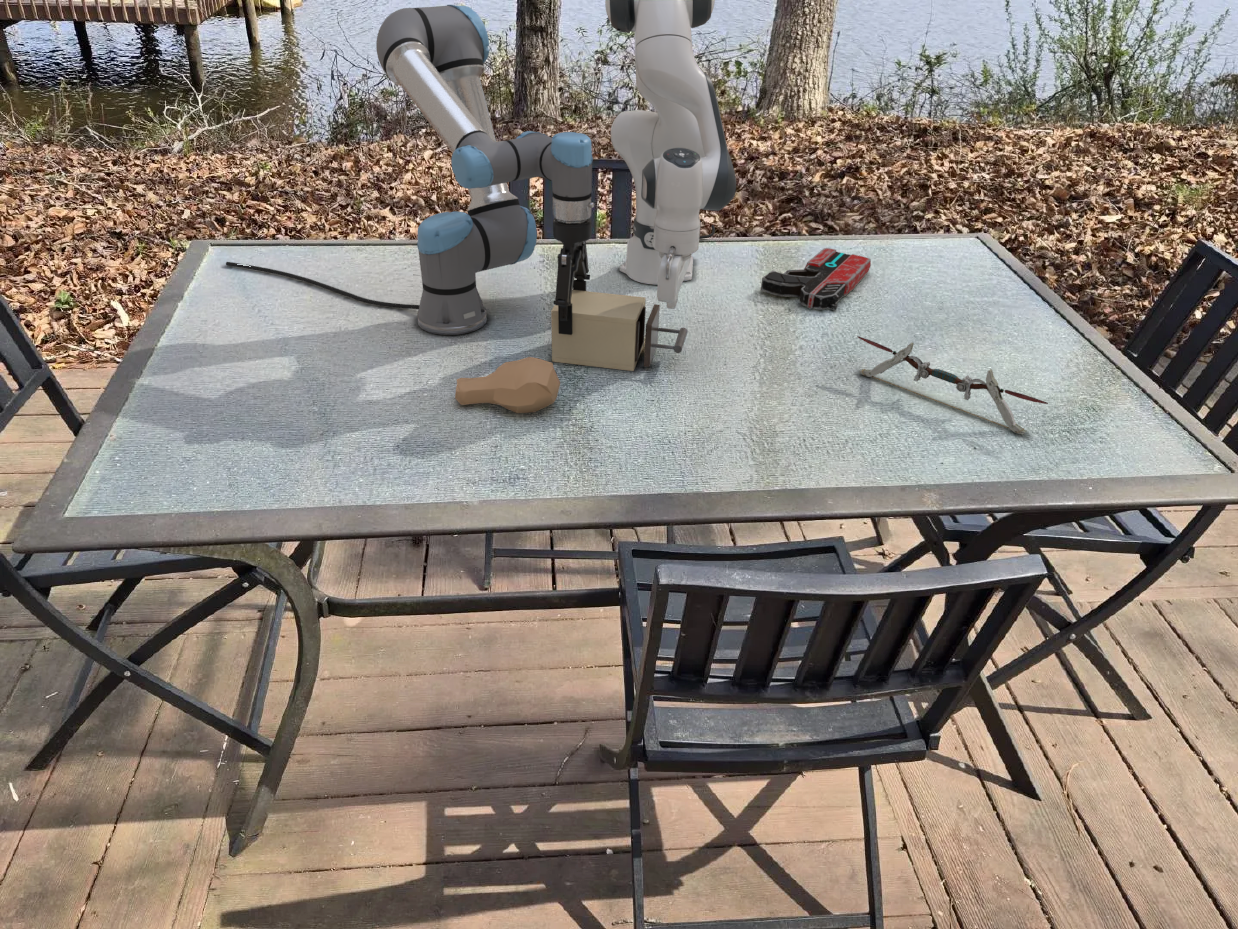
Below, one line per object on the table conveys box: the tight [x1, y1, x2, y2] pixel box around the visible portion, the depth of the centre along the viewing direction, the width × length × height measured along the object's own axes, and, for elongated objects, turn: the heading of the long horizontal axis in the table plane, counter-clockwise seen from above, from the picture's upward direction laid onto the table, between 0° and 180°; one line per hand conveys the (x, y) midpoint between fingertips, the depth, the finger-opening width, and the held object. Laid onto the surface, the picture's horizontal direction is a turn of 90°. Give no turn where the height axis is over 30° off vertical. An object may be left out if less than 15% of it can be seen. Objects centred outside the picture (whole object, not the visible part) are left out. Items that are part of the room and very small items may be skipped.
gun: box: [760, 247, 872, 311], centre depth 219 cm, size 4×31×19 cm
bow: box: [856, 335, 1049, 435], centre depth 169 cm, size 39×2×10 cm, turn 47°
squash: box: [454, 356, 561, 414], centre depth 164 cm, size 11×20×9 cm, turn 90°
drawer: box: [635, 303, 689, 368], centre depth 181 cm, size 22×10×9 cm, turn 79°
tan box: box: [550, 290, 647, 372], centre depth 182 cm, size 17×12×12 cm, turn 79°
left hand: (572, 321), depth 182 cm, fingers closed on tan box, 11 cm apart
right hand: (671, 306), depth 176 cm, fingers closed
